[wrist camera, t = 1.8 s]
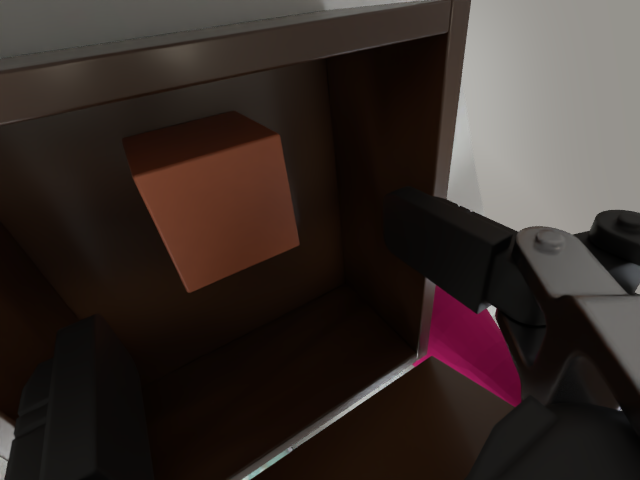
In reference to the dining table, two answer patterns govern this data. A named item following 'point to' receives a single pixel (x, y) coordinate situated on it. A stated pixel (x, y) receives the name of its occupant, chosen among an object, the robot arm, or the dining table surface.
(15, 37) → the dining table surface
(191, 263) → the block
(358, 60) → the chest
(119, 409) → the robot arm
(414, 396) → the lid
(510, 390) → the pepper mill
